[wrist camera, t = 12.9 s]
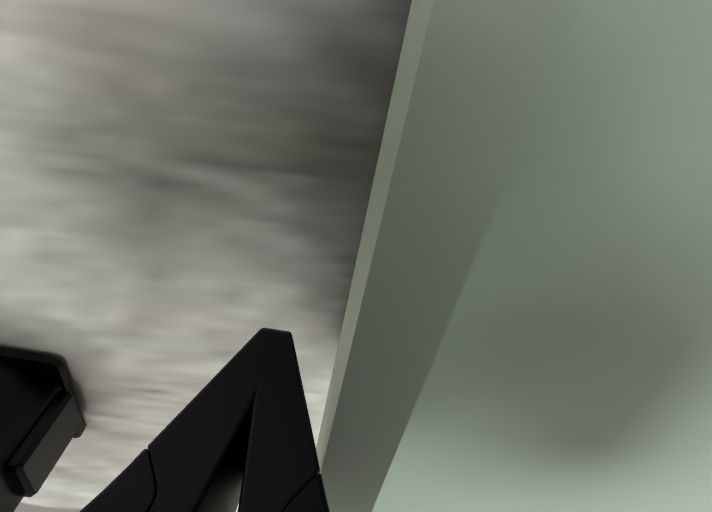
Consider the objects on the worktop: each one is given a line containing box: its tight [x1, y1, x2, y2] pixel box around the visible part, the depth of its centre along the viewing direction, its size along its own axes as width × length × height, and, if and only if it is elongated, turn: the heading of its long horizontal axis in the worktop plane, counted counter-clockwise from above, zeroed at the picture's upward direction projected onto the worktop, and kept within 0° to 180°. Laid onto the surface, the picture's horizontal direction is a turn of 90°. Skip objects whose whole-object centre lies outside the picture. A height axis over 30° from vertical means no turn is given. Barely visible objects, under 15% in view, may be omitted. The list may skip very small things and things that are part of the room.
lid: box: [316, 0, 712, 512], centre depth 9 cm, size 15×16×3 cm
